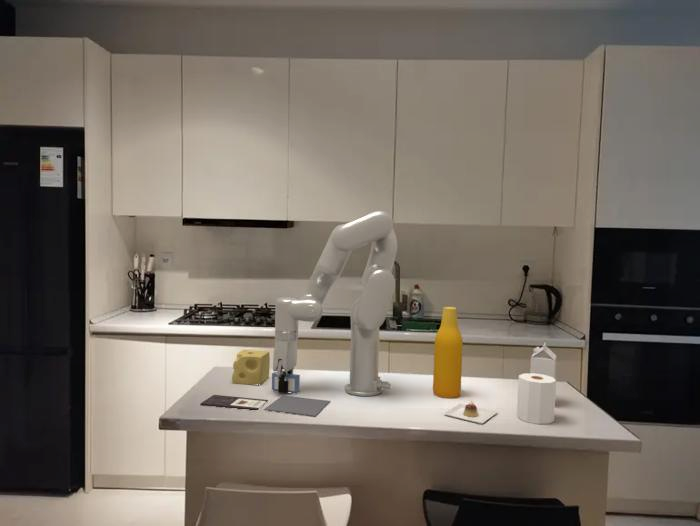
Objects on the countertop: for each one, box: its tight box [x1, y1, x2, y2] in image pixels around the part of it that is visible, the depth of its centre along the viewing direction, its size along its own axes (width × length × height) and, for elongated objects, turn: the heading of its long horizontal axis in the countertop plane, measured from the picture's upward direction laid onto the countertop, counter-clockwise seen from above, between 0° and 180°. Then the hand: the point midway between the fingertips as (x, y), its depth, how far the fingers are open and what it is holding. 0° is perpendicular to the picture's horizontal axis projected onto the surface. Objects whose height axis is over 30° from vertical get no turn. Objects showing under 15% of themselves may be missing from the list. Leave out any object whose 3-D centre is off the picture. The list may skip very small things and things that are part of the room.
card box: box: [271, 371, 301, 394], centre depth 175 cm, size 9×2×6 cm, turn 75°
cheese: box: [231, 349, 271, 386], centre depth 187 cm, size 10×11×10 cm
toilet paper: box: [516, 372, 557, 425], centre depth 156 cm, size 10×10×12 cm
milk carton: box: [529, 341, 557, 380], centre depth 171 cm, size 7×7×19 cm
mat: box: [263, 394, 331, 418], centre depth 161 cm, size 16×14×1 cm
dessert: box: [443, 400, 498, 425], centre depth 158 cm, size 12×12×5 cm
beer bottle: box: [432, 306, 464, 399], centre depth 176 cm, size 9×9×29 cm
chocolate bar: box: [199, 394, 269, 411], centre depth 163 cm, size 9×1×18 cm
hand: (285, 390), depth 175 cm, fingers open, 3 cm apart
